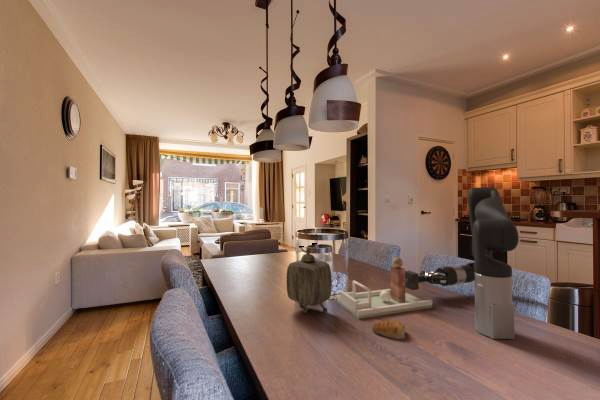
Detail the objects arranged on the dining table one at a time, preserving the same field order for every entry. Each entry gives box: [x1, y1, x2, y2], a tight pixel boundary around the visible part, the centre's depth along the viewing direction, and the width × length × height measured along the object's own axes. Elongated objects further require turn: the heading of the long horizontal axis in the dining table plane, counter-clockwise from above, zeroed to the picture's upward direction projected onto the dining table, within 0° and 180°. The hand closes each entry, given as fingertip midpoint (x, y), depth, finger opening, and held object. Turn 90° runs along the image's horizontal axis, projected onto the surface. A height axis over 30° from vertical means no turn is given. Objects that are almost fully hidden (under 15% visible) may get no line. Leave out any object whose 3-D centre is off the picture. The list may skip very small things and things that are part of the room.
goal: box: [338, 280, 372, 313], centre depth 105 cm, size 7×13×8 cm, turn 17°
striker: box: [389, 256, 420, 302], centre depth 111 cm, size 10×5×16 cm, turn 107°
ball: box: [380, 291, 391, 302], centre depth 109 cm, size 4×4×4 cm
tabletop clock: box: [285, 244, 333, 314], centre depth 103 cm, size 14×9×25 cm, turn 51°
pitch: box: [336, 288, 433, 320], centre depth 108 cm, size 30×17×2 cm, turn 107°
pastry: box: [371, 320, 406, 340], centre depth 86 cm, size 9×7×4 cm
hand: (415, 279), depth 113 cm, fingers closed
